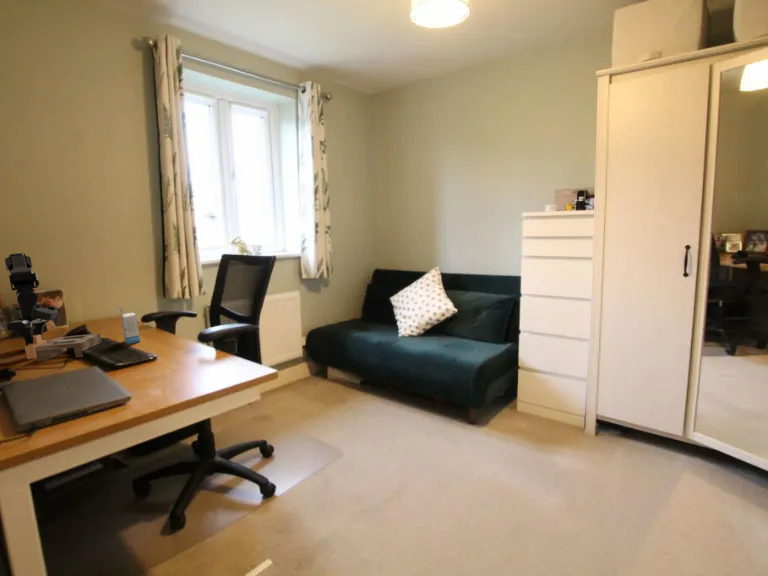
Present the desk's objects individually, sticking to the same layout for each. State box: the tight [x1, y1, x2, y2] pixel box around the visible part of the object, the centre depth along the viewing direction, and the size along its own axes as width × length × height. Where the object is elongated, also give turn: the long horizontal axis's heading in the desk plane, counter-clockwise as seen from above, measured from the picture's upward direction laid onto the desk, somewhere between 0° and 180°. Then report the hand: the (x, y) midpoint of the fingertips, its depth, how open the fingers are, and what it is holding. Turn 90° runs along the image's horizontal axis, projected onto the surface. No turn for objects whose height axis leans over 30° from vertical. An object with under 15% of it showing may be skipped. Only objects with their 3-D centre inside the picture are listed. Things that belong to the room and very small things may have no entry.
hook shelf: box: [35, 333, 103, 362], centre depth 164 cm, size 14×16×6 cm
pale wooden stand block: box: [24, 335, 48, 360], centre depth 164 cm, size 8×3×8 cm, turn 9°
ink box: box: [119, 307, 141, 345], centre depth 177 cm, size 8×5×15 cm, turn 39°
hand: (35, 342), depth 164 cm, fingers open, 5 cm apart
